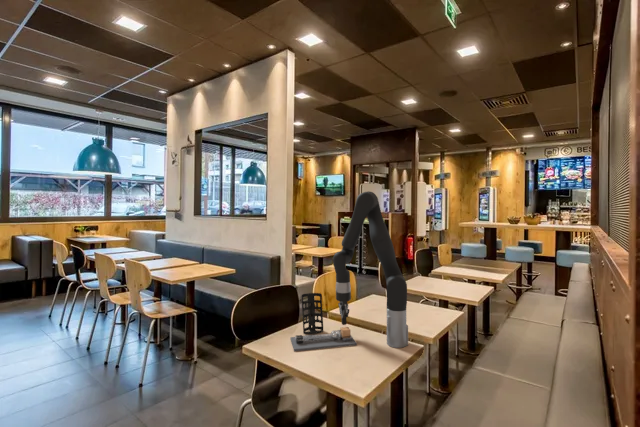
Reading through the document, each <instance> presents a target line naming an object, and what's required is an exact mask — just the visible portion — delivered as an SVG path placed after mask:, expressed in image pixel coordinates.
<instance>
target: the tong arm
mask: <svg viewBox="0 0 640 427" xmlns="http://www.w3.org/2000/svg"><path fill="white" fill-rule="evenodd" d="M332 335H333V334H331V333H323V334H321V333H319V334H304V335H302V334H298V335H295V336H294V337H295V340H296V339H297V340H303V339H312V338H329V337H332Z"/></svg>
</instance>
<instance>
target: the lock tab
mask: <svg viewBox="0 0 640 427" xmlns="http://www.w3.org/2000/svg"><path fill="white" fill-rule="evenodd" d="M339 330H340V334H341V335H342V336H343V337H345V336H350V335H351V329H350V327H349V326H345V327H340V329H339Z"/></svg>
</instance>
